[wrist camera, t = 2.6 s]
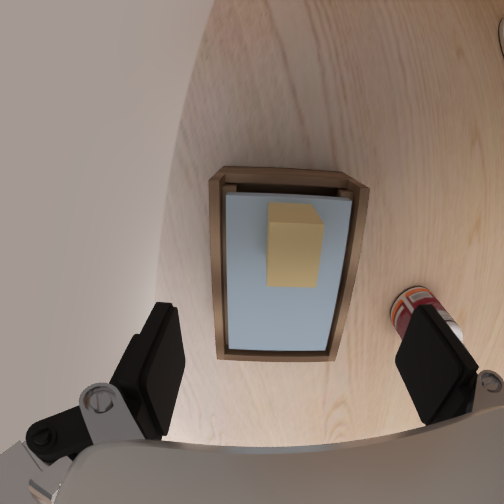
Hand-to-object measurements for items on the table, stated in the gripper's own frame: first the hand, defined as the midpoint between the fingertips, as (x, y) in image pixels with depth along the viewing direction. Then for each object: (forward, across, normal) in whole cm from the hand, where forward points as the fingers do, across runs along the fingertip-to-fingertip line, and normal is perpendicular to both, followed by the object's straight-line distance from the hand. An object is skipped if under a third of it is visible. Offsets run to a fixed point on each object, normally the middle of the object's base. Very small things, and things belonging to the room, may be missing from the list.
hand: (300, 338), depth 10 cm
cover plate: (+12, -1, +4) cm, 13 cm away
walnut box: (+18, -1, +4) cm, 19 cm away
